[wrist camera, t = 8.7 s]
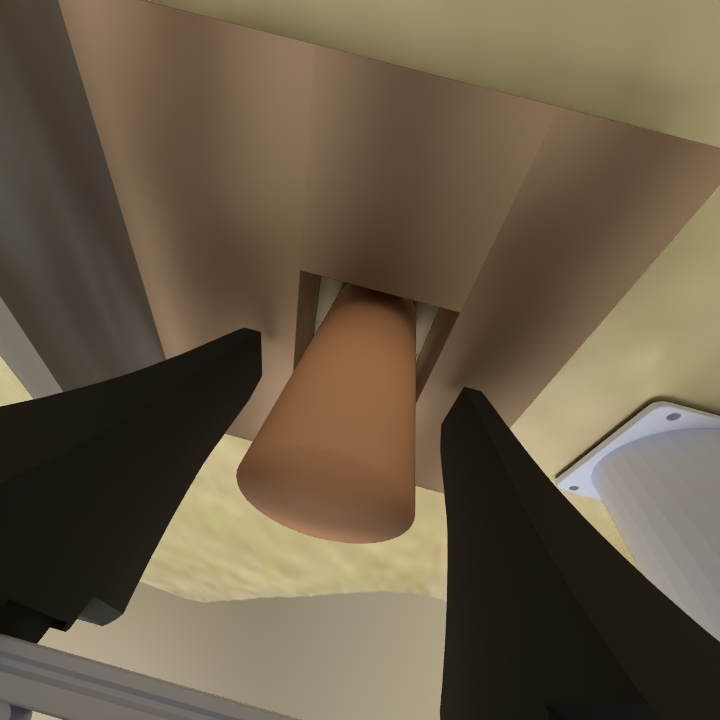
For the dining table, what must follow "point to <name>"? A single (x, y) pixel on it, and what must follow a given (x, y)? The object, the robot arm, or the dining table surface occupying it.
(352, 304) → the peg
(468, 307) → the socket block
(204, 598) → the dining table surface
